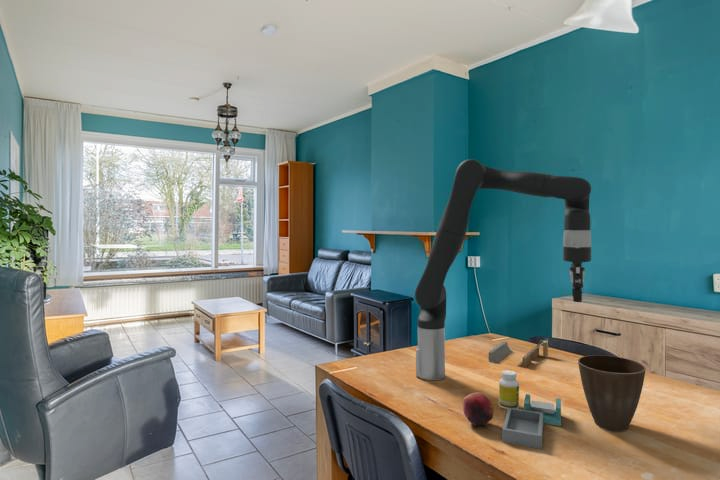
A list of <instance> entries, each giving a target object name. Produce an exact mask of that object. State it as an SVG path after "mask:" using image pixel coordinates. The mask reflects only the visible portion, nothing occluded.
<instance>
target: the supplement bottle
mask: <svg viewBox="0 0 720 480" xmlns="http://www.w3.org/2000/svg"><path fill="white" fill-rule="evenodd" d="M519 383H520V382H519V381H518V380H517V372H516V371H514V370H513V371H512V370H509V369H507V370H502V371H501V378H500V379H499V380H498V406H499V407H500V408H502V409H504V410H506V411H508V407H509V408H515V409H519V407H520V384H519Z"/></svg>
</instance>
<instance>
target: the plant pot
mask: <svg viewBox="0 0 720 480" xmlns="http://www.w3.org/2000/svg"><path fill="white" fill-rule="evenodd" d="M577 363H578V370H579V375H580V376H579V377H580V380H581V381H580V382H581V385H582V388H583V393H584V396H585V398H586V402H587V405H588V408H589V411H590V414H591V416H592V419H593V422H594V424H595V425H596V426H598V427H599V428H600V429H604V430H607V431H611V432H625V431H627V430H628V429H629V427H630V424H631V423H632V421H633V418H634V417H635V413H636V411H637V408H638V405H639V402H640V398H641V395H642V391H643V386H644V382H645V376H646V366H645V365H644V364H642V363H640V362H639V361H636V360H632V359H629V358H625V357H620V356H616V355H615V356H614V355H606V354H605V355H604V354H603V355H602V354H601V355H600V354H597V355H595V354H594V355H593V354H591V355H584V356H581V357H579V358H578V359H577Z"/></svg>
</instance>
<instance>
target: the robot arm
mask: <svg viewBox="0 0 720 480" xmlns="http://www.w3.org/2000/svg"><path fill="white" fill-rule="evenodd" d="M454 173H455V174H454V179H453V183H452V186H451V187H452V188H451V191H450V195H449V199H448V201H447V204H446V206H445V208H444V211H443V213H442V217H441V219H440V221H439V224H438V227H437V230H436V233H435V235H434V239H433V242H432V244H431V248H430V252H429V256H428V260H427V264H426V266H425V268H424V270H423V272H422V274H421V277H420V279H419V282H418V283H417V286H416V287H415V291H414V297H415V298H414V299H415V302H416V304H417V305H418V306H419V307H420V308H419V314H418V317H417V348H416V349H415V371H416V372H415V376H416V377H417V378H420V379H422V380H426V381H440V380H444V379H445V377H446V345H445V344H446V338H445V336H446V335H445V333H446V331H445V329H446V326H445V325H446V317H447V291H446V286H445V285H444V284H445V280H446V278H447V274H448V272H449V270H450V268H451V267H452V265H453V263H454V262H455V260H456V258H457V256H458V255H459V253H460V251H461V249H462V246H463V243H464V240H465V237H466V234H467V231H468V225H469V219H470V211H471V206H472V203H473V201H474V198H475V196H476V193H477V191H478V190H480V189H481V190H483V189H484V190H485V189H486V190H488V189H490V190H491V189H492V190H499V191H500V190H501V191H509V192H514V193H517V194H522V195H528V196H534V197H539V198H541V197H542V198H555V199H561V200H563V201H564V211H565V212H564V218H563V219H564V221H563V238H562V241H563V242H562V259H563V261H564V262H569V263H571V266H569V275H570V282H571V286H572V288H571V289H572V294H571V295H572V297H573V298H572V300H573V302H575V303H582V301H583V288H584V284H583V283H585V273H586V270H585V267H584V266H583V265H582V264H583V263H589V262H591V261H592V235H591V234H592V233H591V215H590V196H591V195H590V194H591V193H592V186H591V184H590V182H589V181H588V179H587V180H586V179H585V178H582V177H578V176H577V177H576V176H566V175H565V176H563V175H553V174H547V173H543V172H542V173H541V172H531V171H517V170H516V171H513V170H504V169H498V168H493V167H490V166H486V165H484V164H483V163H481V162H480V161H478V160H477V159H474V158H470V159H469V158H468V159H465V160H463V161H462V162H460V164H459V165H458V167H456V171H455V172H454Z"/></svg>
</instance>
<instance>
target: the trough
mask: <svg viewBox="0 0 720 480" xmlns="http://www.w3.org/2000/svg"><path fill="white" fill-rule="evenodd" d="M501 430H502V434H501V435H502V436H501V438H502V443H506V444H507V443H509V444H512V445H518V446H523V447H528V448H534V449H539V450H542V448H543V446H542V445H543V444H542V443H543V433H544V432H543V431H544V423H543V413H541V412H535V411H528V410H524V409H520V408H518V409H515V408H509V407H508V410H506V414H505V419H504V422H503V426H502V429H501Z"/></svg>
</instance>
